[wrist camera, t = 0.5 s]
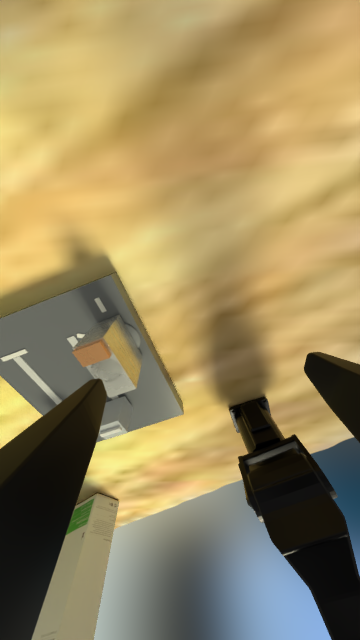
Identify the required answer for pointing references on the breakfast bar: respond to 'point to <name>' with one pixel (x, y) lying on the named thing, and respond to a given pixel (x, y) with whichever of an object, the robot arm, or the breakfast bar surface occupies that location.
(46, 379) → the console
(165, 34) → the breakfast bar surface
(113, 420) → the fader
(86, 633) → the skincare box
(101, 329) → the dial
